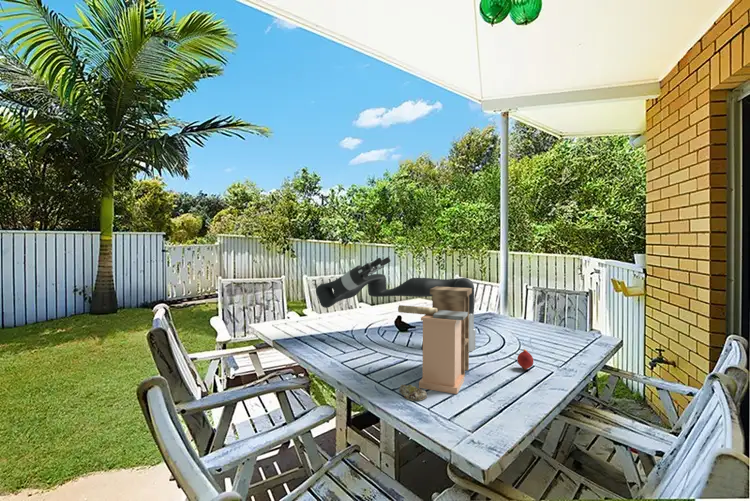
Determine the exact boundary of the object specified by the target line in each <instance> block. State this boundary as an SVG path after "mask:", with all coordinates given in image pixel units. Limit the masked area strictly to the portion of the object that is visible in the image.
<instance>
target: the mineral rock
mask: <svg viewBox="0 0 750 501" xmlns="http://www.w3.org/2000/svg"><path fill="white" fill-rule="evenodd" d="M398 391H399V393H400V394H401V395H402V396H404V397H403V398H404V399H406V400H409V401H413V402H414V401H423V400H425V399H427V398H428V394H427V393H428V392H427V391H426V390H425V389H423V388H419V387H417V386H416V385H415V386H413V385H412V384H409V385H406V384H400V387H399V389H398Z"/></svg>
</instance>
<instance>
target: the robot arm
mask: <svg viewBox="0 0 750 501" xmlns="http://www.w3.org/2000/svg"><path fill="white" fill-rule="evenodd" d="M390 262H391V259H390V257H388V256H387V257H385V258H384V259H382V258H381V257H378V258H376V259H375V260H372V261H370V262H367V263H366V264H364V265H363V266H362V265H357V266H355V267H353V268H352V269H350V270H348V271H347V272H345V273H344V274H343V275H341V276H340V277H339V278H337V279H335V280H332V281H329V282H326V283H321V284H319V285H318V286H317V287H316V289H315V293H316V296H317V298H318V301H319V304H320V306H321V307H322V308H331V307H332V306H334V305H335V304H337V303H338V302H340V301H343V300H346V299H350V298H353V297H355V296H357V295H358V294H359V293H360V292H361V291H362V289H364V288H365V286H367V294H368V295H369V296H370V297H375V298H376V297H377V298H383V297H411V298H412V297H414V298H427V297H428V298H429V297H432V294H430V289H432V288H434V287H436V286H439V287H459V288H472V293H471V294H470V295H469V353H470V352H473V351H474V350H476V335H477V334H476V331H477V330H476V328H475V286H474V283H473V281H472V280H470V279H469V278H466V277H458V278H450V279H448V278H446V279H441V278H430V277H411V278H409V279H407V280H405V281H404V282H402V283H401V284H400V285H397V286H395V287H393V288H389V289H387V278H386V275H385V274H381V273H377V272H378V271H379V270H381V269H383V268H385V265H387V264H389V263H390ZM379 265H380V266H379Z"/></svg>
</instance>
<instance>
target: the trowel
mask: <svg viewBox="0 0 750 501" xmlns="http://www.w3.org/2000/svg"><path fill="white" fill-rule="evenodd" d="M397 310H398V311H397V312H398V313H405V314H413V315H414V314H416V315H433V318H442V319H453V320H464V319H465V318H466V317H467V316H468V312H461V311H448V310H439V311H438V310H437V308H432V307H430V306H429V307H427V306H414V305H413V306H412V305H401V304H399V305H398V306H397Z"/></svg>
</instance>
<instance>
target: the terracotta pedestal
mask: <svg viewBox="0 0 750 501" xmlns="http://www.w3.org/2000/svg"><path fill="white" fill-rule="evenodd" d="M420 321H421V322H422V377H421V379H420V380H419V381H418V388H420V389H423V390H432V391H436V392H441V393H449V394H455V395H458V394H459V392H460V390H461V387H462V385H463V384H464V382H465V377H464V375H461V320H453V319H442V318H433V315H425V314H423V315H422V316H421V317H420Z"/></svg>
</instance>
